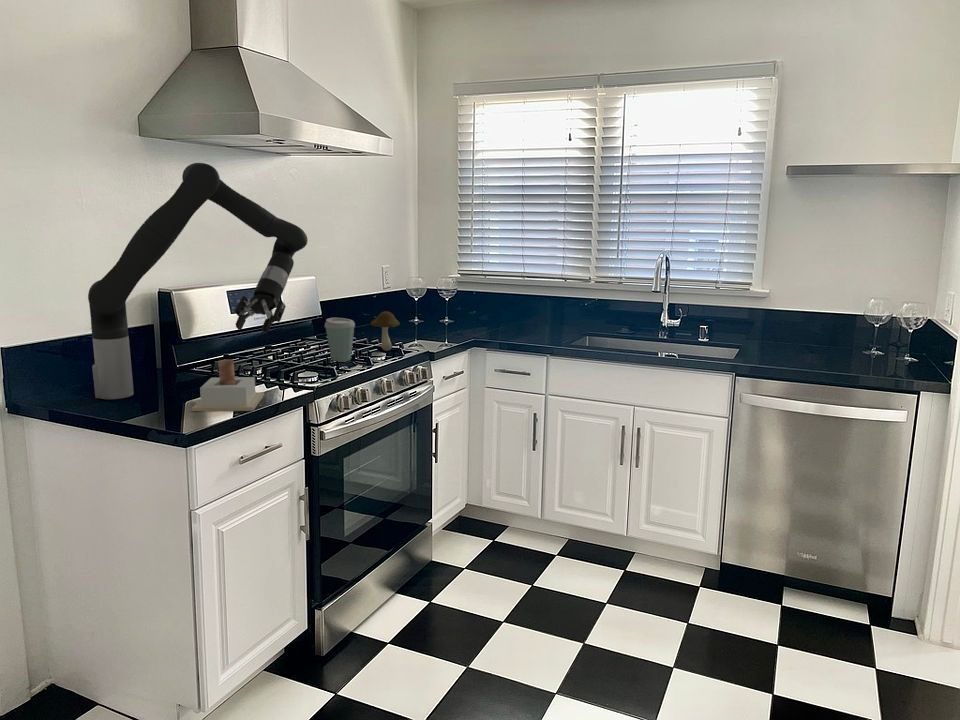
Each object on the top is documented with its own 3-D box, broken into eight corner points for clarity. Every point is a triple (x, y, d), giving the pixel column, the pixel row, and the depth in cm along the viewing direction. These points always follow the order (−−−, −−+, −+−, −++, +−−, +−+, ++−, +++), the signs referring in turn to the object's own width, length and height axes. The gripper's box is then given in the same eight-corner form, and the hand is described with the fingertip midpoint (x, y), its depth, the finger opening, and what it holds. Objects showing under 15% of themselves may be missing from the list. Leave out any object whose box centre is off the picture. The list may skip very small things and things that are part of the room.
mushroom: (379, 347, 290) (378, 308, 287) (405, 350, 285) (404, 311, 282) (366, 351, 282) (365, 311, 279) (391, 354, 277) (391, 314, 274)
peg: (220, 401, 207) (216, 362, 205) (223, 398, 211) (219, 359, 209) (235, 401, 208) (231, 362, 206) (238, 397, 212) (234, 359, 209)
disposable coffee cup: (359, 358, 269) (358, 317, 266) (351, 365, 259) (350, 322, 256) (330, 357, 270) (329, 316, 267) (321, 364, 260) (320, 321, 257)
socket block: (191, 411, 201) (190, 389, 200) (207, 396, 217) (206, 376, 215) (253, 410, 203) (251, 389, 201) (264, 395, 218) (263, 375, 217)
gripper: (245, 275, 224) (223, 320, 216) (287, 279, 220) (266, 325, 212) (256, 289, 230) (235, 334, 223) (297, 294, 226) (277, 339, 219)
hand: (250, 330), depth 218 cm, fingers open, 8 cm apart
